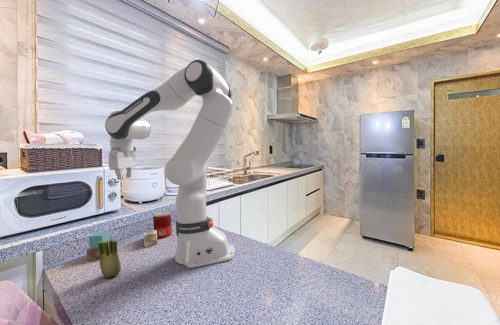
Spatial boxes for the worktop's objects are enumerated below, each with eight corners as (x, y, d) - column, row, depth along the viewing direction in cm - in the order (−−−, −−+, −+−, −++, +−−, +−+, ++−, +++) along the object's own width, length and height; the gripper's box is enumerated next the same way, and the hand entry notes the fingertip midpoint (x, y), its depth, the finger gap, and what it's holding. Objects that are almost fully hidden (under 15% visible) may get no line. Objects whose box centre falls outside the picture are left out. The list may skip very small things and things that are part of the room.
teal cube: (110, 243, 92) (109, 231, 91) (103, 248, 87) (101, 235, 86) (98, 243, 91) (96, 232, 91) (89, 249, 86) (88, 236, 86)
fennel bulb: (98, 277, 72) (95, 241, 71) (113, 270, 76) (110, 236, 76) (109, 281, 70) (106, 244, 69) (124, 273, 74) (121, 238, 73)
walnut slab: (116, 251, 92) (115, 242, 92) (103, 259, 85) (102, 249, 85) (100, 251, 93) (100, 242, 93) (86, 259, 86) (86, 249, 86)
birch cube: (157, 240, 102) (156, 229, 101) (157, 244, 97) (156, 233, 97) (145, 242, 100) (144, 231, 100) (144, 246, 95) (143, 235, 95)
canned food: (175, 233, 109) (173, 211, 108) (161, 239, 102) (159, 216, 102) (165, 231, 113) (163, 210, 113) (151, 237, 106) (149, 214, 106)
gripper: (119, 146, 89) (122, 180, 90) (137, 148, 109) (139, 175, 110) (102, 147, 88) (105, 182, 89) (123, 149, 109) (126, 176, 109)
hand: (124, 178), depth 100 cm, fingers open, 8 cm apart
